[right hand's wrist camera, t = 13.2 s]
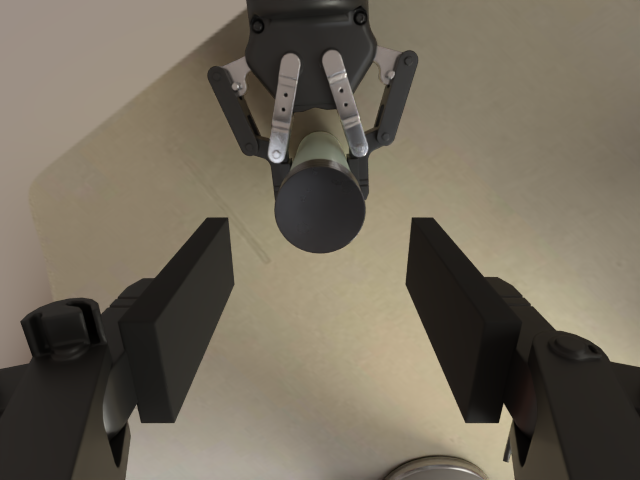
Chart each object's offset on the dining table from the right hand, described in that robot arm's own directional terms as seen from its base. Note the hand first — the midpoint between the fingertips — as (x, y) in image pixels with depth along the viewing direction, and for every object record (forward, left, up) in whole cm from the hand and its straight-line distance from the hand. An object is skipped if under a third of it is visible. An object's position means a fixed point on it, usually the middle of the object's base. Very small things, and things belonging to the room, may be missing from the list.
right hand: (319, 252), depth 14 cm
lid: (0, 0, -5) cm, 5 cm away
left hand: (0, +3, -15) cm, 15 cm away
